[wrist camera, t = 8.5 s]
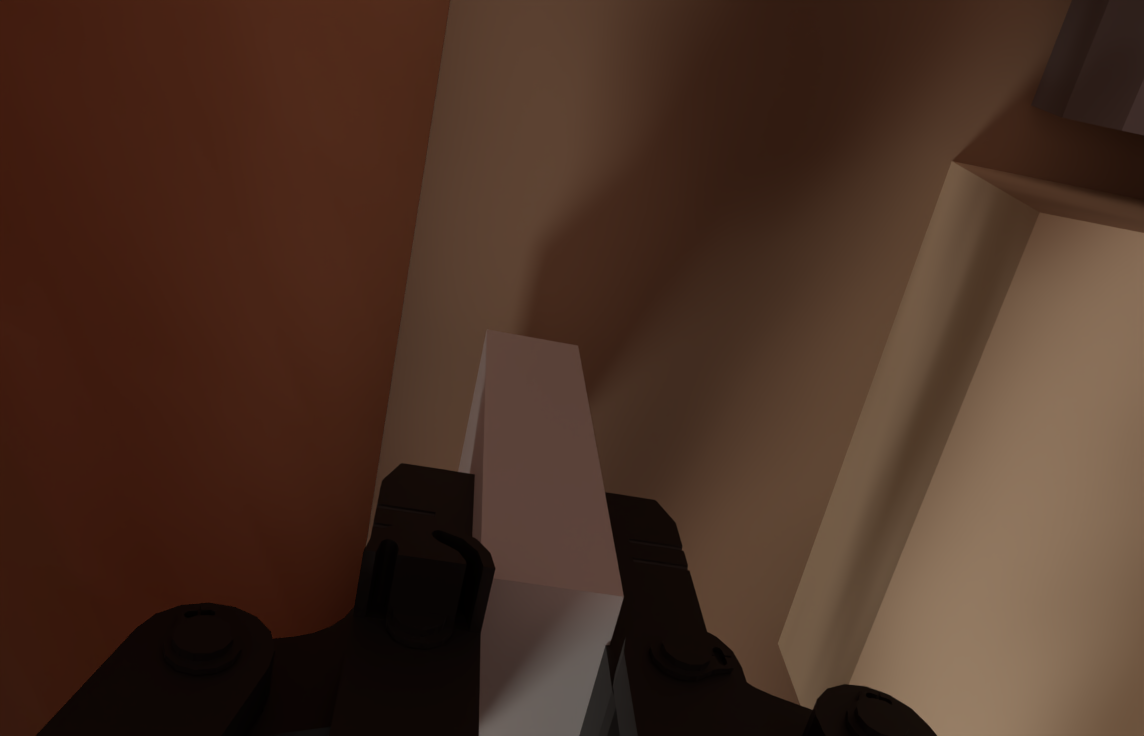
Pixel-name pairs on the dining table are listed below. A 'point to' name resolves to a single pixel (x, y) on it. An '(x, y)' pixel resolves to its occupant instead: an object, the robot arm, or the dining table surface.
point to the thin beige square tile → (995, 477)
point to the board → (727, 233)
